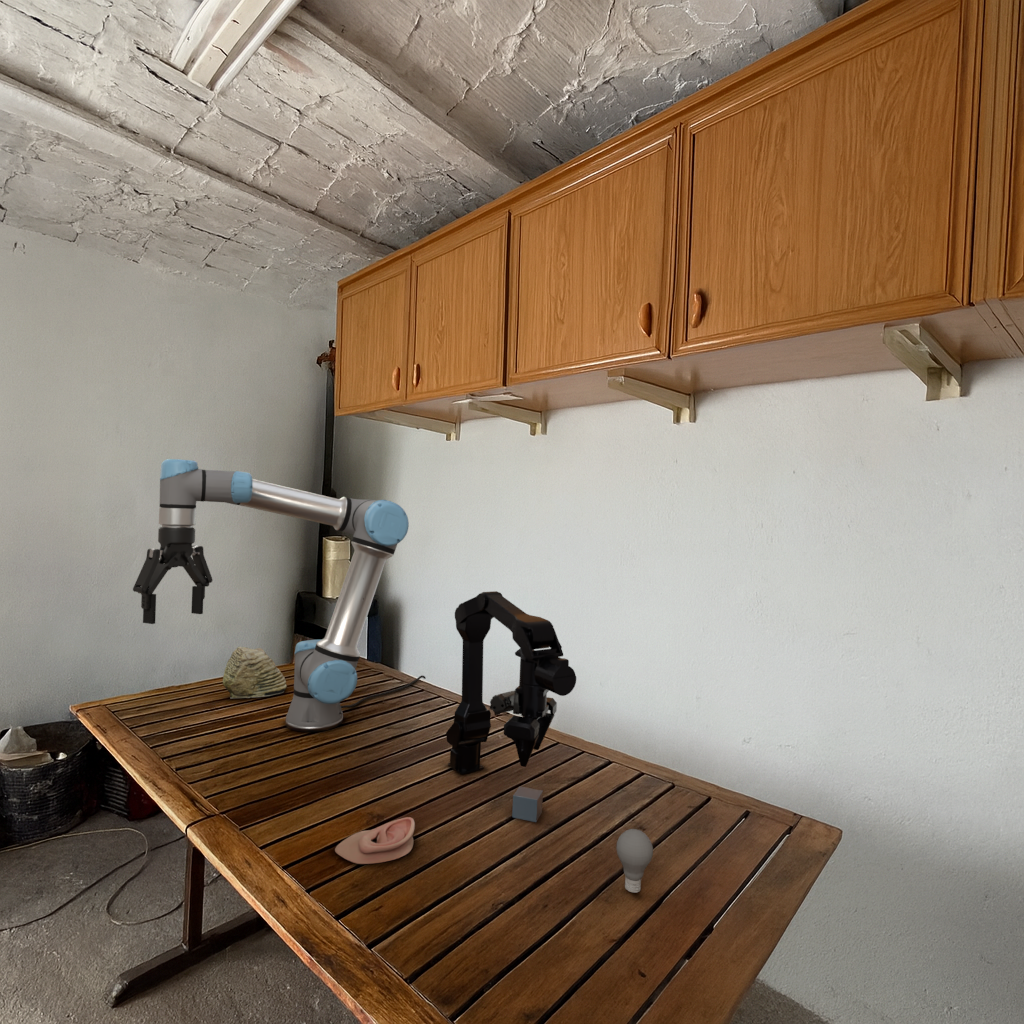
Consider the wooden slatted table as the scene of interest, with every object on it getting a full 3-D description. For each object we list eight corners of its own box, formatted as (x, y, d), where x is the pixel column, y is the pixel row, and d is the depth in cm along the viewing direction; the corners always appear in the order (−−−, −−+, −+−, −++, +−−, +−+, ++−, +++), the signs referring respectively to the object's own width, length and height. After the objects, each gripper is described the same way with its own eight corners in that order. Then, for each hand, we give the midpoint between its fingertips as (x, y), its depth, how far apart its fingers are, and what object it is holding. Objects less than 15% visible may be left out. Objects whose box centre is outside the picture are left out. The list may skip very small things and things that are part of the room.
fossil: (218, 695, 195) (220, 647, 195) (278, 685, 208) (279, 640, 207) (228, 703, 189) (230, 653, 188) (289, 692, 201) (290, 645, 201)
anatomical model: (327, 836, 111) (356, 806, 122) (326, 858, 111) (355, 826, 122) (398, 848, 108) (421, 815, 119) (397, 871, 108) (420, 836, 119)
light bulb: (610, 879, 108) (613, 822, 108) (644, 879, 109) (647, 822, 109) (619, 902, 102) (622, 840, 102) (655, 901, 103) (658, 840, 103)
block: (518, 807, 133) (519, 786, 133) (542, 812, 131) (543, 790, 131) (512, 817, 129) (512, 795, 128) (536, 822, 127) (537, 799, 127)
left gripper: (205, 524, 159) (202, 608, 159) (116, 527, 135) (112, 625, 136) (230, 525, 157) (226, 611, 157) (143, 528, 133) (139, 629, 133)
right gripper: (509, 666, 141) (506, 736, 141) (480, 689, 123) (476, 768, 123) (558, 672, 137) (555, 744, 138) (535, 696, 120) (531, 778, 120)
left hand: (174, 618), depth 146 cm, fingers open, 13 cm apart
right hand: (529, 757), depth 130 cm, fingers open, 9 cm apart
